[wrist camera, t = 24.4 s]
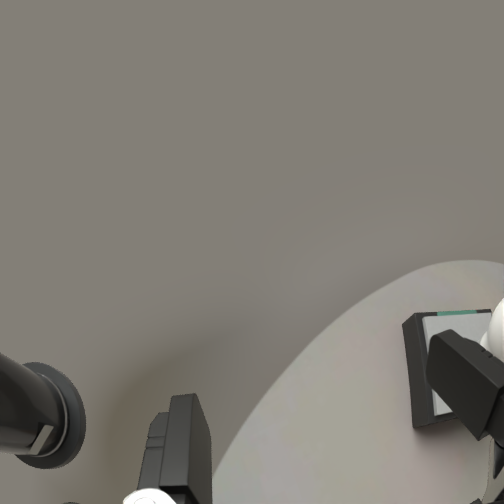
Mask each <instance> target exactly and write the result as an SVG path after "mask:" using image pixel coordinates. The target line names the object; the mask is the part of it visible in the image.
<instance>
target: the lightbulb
mask: <svg viewBox="0 0 504 504" xmlns="http://www.w3.org/2000/svg"><path fill="white" fill-rule="evenodd" d="M477 343H479V344H480V345H481V346H483V347H484V348H485V349H486V351H487V350H488V351H489V352H491V353H492V354H493V356H496V357H497V358H498V359H500V360H501V361H502V362H503V363H504V298H503V299H502V300H501V301H500V303H499V304H498V305H497V307H496V308H495V310H494V312H493V315H492V317H491V320H490V324H489V328H488V330H487V331H486V332H485V333H484V335H483V336H482V338H481V339H480V340H478V341H477Z"/></svg>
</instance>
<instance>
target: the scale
mask: <svg viewBox="0 0 504 504" xmlns="http://www.w3.org/2000/svg"><path fill="white" fill-rule="evenodd" d="M491 317H492V313H491V309H483V310H465V311H446V312H426V313H414V314H413V315H412V316H411V317H410V318H409V319H407V320H406V321H405V322H404V323H403V324H402V327H403V334H404V341H405V348H406V356H407V364H408V373H409V383H410V394H411V407H412V423H413V428H415V427H420V426H425V425H429V424H434V423H439V422H443V421H447V420H451V419H455V418H458V417H457V416H456V415H455V414H454V412H453V411H452V410H451V409H450V408H449V407H448V406H447V405H446V403H445V402H444V401H443V400H442V399H441V398H440V397H439V396H438V394H437V393H436V392H435V391H434V390H433V389H432V388H431V387H430V385H429V384H428V382H427V379H426V364H427V357H428V350H429V342H430V338H431V337H432V336H433V335H435V334H438V333H440V332H443V331H445V330H448V329H452V330H454V331H455V332H457V333H458V334H459V335H460V336H462V337H463V338H464V337H465V338H468V339H470V340H473V341H476V342H477V341H478V340H480V339H481V338H482V336H483V335H484V333H485V332H486V331H487V330H488V328H489V324H490V320H491Z"/></svg>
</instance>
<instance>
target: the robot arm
mask: <svg viewBox="0 0 504 504" xmlns="http://www.w3.org/2000/svg"><path fill="white" fill-rule="evenodd" d="M426 379H427V382H428V384H429V385H430V387H431V388H432V389H433V390H434V391H435V392H436V393H437V394H438V396H439V397H440V398H441V399H442V400H443V401H444V402H445V403H446V405H447V406H448V407H449V408H450V409H451V410H452V411H453V412H454V414H455V415H456V416H457V417H458V418H459V419H460V420H461V422H462V423H463V424H464V425H465V426H466V427H467V428H468V430H469V431H470V432H471V433H472V434H473V435H474V437H475V438H476V439H477V440H478V441H479V440H481V439H483V438H484V437H486V436H487V435H489V434H490V435H491V436H492V439H491V441H490V455H489V471H488V483H487V488H486V492H485V494H484V496H483V499H482V501H480V499H479V498H478V499H477V500H475V501H473V502H472V503H470V504H504V363H503V362H502V361H501V360H500V359H498V358H497V357H496V356H493V354H492V353H491V352H489V351H488V350H487V351H486V349H485V348H484V347H483V346H481V345H480V344H479V343H477V342H476V341H473V340H470V339H468V338H465V337H464V338H463V337H462V336H460V335H459V334H458V333H457V332H455V331H454V330H452V329H448V330H445V331H443V332H440V333H438V334H435V335H433V336H432V337H431V338H430V342H429V350H428V357H427V364H426ZM69 425H70V416H69V409H68V405H67V402H66V399H65V397H64V395H63V393H62V391H61V390H60V388H59V387H58V386H57V385H56V383H55V382H53V381H52V380H51V379H50V378H48V377H47V376H45V375H43V374H40V373H38V372H34V371H33V370H31V369H29V368H27V367H25V366H23V365H21V364H19V363H18V362H16V361H14V360H12V359H10V358H8V357H7V356H5V355H3V354H1V353H0V452H1V453H9V454H17V455H27V456H32V457H48V456H51V455H53V454H55V453H56V452H57V451H58V450H59V449H60V448H61V447H62V446H63V444H64V443H65V441H66V438H67V435H68V432H69ZM64 504H78V503H73V502H72V503H71V502H69V503H64ZM122 504H212V462H211V436H210V431H209V427H208V424H207V422H206V419H205V416H204V413H203V411H202V408H201V405H200V402H199V399H198V397H197V395H196V394H195V393H193V394H185V395H176V396H172V398H171V403H170V408H169V412H163V413H158V415H157V416H156V417H155V419H154V420H153V421H152V423H151V424H150V428H149V433H148V439H147V442H146V450H145V452H144V457H143V462H142V467H141V472H140V477H139V483H138V487H137V490H136V491H135V492H133V493H131V494H130V495H128V496H127V497H126V498H125V499H124V501H123V503H122Z"/></svg>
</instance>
